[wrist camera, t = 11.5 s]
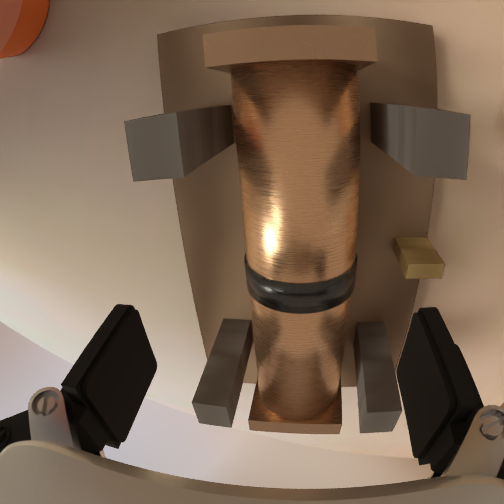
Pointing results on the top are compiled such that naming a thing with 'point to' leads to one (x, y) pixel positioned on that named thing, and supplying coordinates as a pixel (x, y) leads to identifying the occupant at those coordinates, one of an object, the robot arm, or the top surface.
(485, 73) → the top surface
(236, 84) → the copper tube
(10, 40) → the cup with straw
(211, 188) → the collar board
